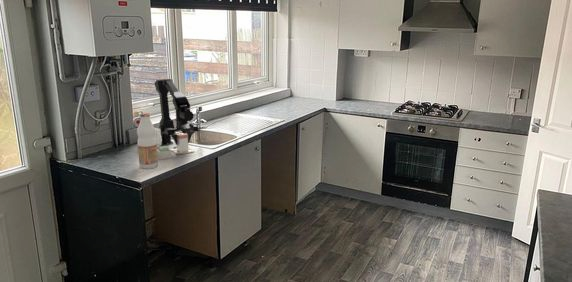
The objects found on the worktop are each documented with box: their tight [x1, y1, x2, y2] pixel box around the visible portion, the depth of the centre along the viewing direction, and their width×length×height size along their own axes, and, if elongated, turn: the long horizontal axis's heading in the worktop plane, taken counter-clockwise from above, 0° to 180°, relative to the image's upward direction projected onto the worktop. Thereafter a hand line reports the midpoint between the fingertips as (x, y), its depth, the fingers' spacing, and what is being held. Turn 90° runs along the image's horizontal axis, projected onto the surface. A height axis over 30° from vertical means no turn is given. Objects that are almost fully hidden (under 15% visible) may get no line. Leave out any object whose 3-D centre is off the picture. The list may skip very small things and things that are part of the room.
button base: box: [157, 148, 173, 160], centre depth 240 cm, size 7×7×4 cm
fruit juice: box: [136, 112, 159, 170], centre depth 221 cm, size 9×9×28 cm
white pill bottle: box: [176, 132, 190, 152], centre depth 249 cm, size 5×5×10 cm
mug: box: [155, 127, 162, 148], centre depth 259 cm, size 12×8×10 cm
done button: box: [157, 145, 170, 152], centre depth 240 cm, size 4×4×2 cm
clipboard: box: [169, 145, 195, 156], centre depth 252 cm, size 12×10×2 cm
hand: (182, 144), depth 249 cm, fingers open, 7 cm apart
